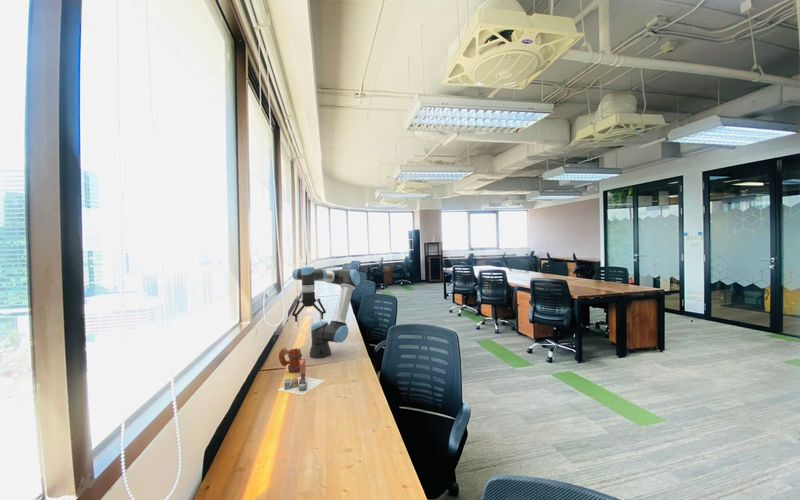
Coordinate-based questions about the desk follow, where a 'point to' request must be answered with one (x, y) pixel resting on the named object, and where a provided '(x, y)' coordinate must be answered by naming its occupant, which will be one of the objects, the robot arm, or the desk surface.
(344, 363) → the desk surface
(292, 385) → the tan short cylinder
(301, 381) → the lever
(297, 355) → the mug
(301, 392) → the bench board
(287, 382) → the grey rectangular block
